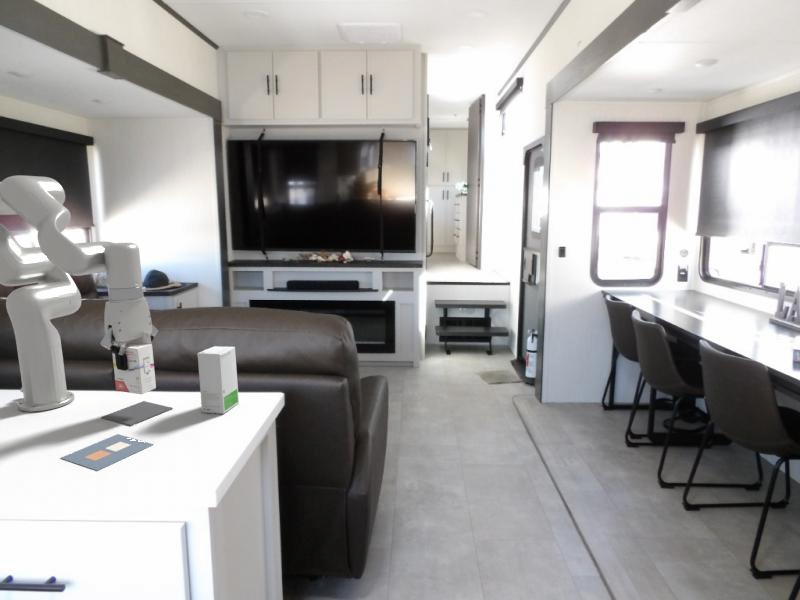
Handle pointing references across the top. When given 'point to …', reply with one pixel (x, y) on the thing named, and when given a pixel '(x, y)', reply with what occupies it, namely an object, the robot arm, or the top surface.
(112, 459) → the tile
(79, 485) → the top surface
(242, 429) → the top surface
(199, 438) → the top surface
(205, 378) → the skincare box
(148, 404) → the rubber mat
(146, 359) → the ink cartridge box
